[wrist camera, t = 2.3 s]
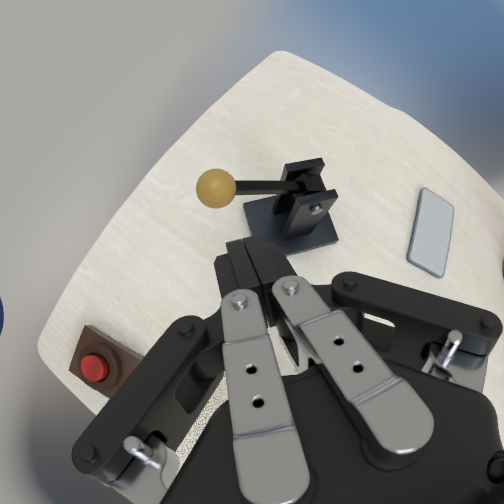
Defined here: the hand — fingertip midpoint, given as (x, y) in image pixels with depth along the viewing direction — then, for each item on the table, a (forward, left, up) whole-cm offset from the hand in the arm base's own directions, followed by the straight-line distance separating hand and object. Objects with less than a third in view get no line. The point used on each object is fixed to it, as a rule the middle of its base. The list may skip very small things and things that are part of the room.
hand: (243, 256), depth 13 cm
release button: (-14, -17, -23) cm, 32 cm away
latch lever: (-3, +10, -14) cm, 17 cm away
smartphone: (+26, +23, -27) cm, 44 cm away
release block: (-14, -17, -27) cm, 35 cm away
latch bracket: (+2, +13, -27) cm, 30 cm away
